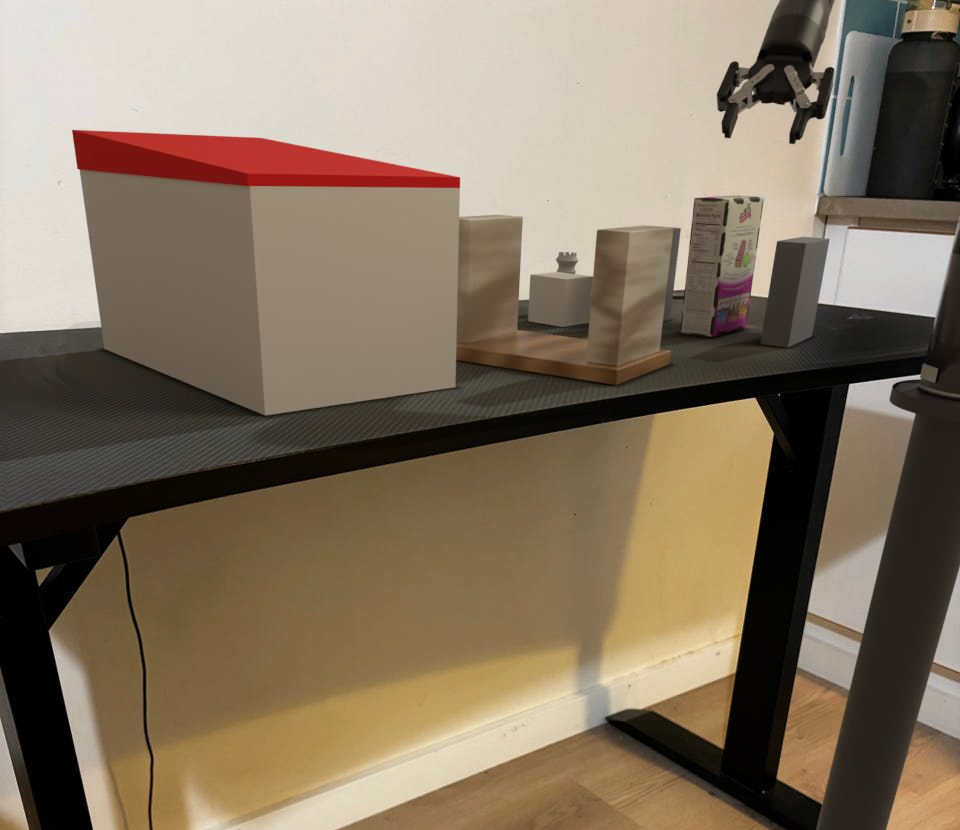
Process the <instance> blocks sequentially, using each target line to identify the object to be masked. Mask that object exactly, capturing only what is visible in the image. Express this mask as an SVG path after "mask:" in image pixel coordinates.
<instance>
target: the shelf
mask: <svg viewBox="0 0 960 830" xmlns="http://www.w3.org/2000/svg"><path fill="white" fill-rule="evenodd" d="M523 221H524V217H523V216H518V215H505V214H486V215H469V216H467V215H466V216H459V249H458V294H457V338H456V361H460V362H467V363H471V364H472V363H473V364H479V365H485V366H492V367H498V368H504V369H510V370H518V371H523V372H529V373H535V374H536V373H537V374H541V375H549V376H554V377H555V376H556V377H561V378H567V379H568V378H569V379H574V380H581V381H586V382H587V381H588V382H594V383H598V384H599V383H600V384H604V385H605V384H606V385H613V386H617V385H620V384H622V383H625V382H627V381H630V380H633V379H635V378H636V379H637V377H641V376H643V375H646V374H648V373H651V372H654V371H656V370H659V369H661V368H664V367H666V366H669V365H670V362H671V356H672V351H671V350H669V349H661V341H662V333H663V332H662V331H663V323H664V321H663V316H664V307H665V298H666V290H667V281H668V272H669V263H670V255H671V246H672V237H673V227H674V226H673V227H672V226H660V225H658V226H657V225H645V224H643V225H632V226H631V225H630V226H623V227H622V226H621V227H612V228H611V227H609V228H600V229H599V228H598V229H597V230H596V238H595V251H594V260H593V261H594V262H593V274H592V276H593V284H592V297H591V309H590V321H589V323H588V334H587V339H586V338H581V337H573V336H572V337H571V336H564V335H560V334H559V335H558V334H550V333H543V332H537V331H536V332H535V331H528V330H521V329H518V326H519V325H518V324H519V306H520V305H519V302H520V285H521V284H520V283H521V282H520V281H521V264H522V243H523ZM659 226H660V227H659Z"/></svg>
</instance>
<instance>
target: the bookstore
mask: <svg viewBox="0 0 960 830" xmlns="http://www.w3.org/2000/svg"><path fill="white" fill-rule="evenodd" d="M71 133H72V139H73V140H72V141H73V147H74V155H75V161H76V168H77V170H79V176H80V183H81V190H82V195H83V196H82V197H83V198H82V199H83V204H84V211H85V219H86V220H85V221H86V227H87V233H88V241H89V248H90V249H89V250H90V255H91V262H92V263H91V264H92V270H93V277H94V283H95V292H96V299H97V305H98V313H99V320H100V326H101V328H100V329H101V334H102V341H103V342H102V343H103V348H104V350H106V351H109V352H111V353H113V354H116V355H118V356H121V357H123V358H126V359H128V360H130V361H133V362H135V363H138V364H140V365H142V366H145V367H147V368H150V369H152V370H155V371H157V372H159V373H162V374H164V375H166V376H169V377H171V378H174V379H175V380H178V381H181V382H183V383H185V384H188V385H191V386H193V387H195V388H198V389H200V390H203V391H205V392H207V393H210V394H212V395H215V396H217V397H219V398H222V399H225V400H227V401H230V402H232V403H234V404H236V405H239V406H241V407H243V408H246V409H248V410H251V411H253V412H255V413H258V414H260V415H262V416H272V415H279V414H284V413H293V412H298V411H304V410H310V409H311V410H312V409H317V408H324V407H330V406H338V405H345V404H352V403H358V402H366V401H372V400H378V399H386V398H393V397H398V396H405V395H411V394H418V393H419V394H420V393H427V392H432V391H439V390H445V389H453V388H456V379H457V378H456V377H457V375H456V374H457V370H456V369H457V360H456V338H457V294H458V249H459V217H460V199H461V177H460V176H456V175H451V174H446V173H441V172H435V171H430V170H426V169H421V168H415V167H411V166H405V165H399V164H395V163H391V162H384V161H381V160H375V159H370V158H364V157H361V156H353V155H350V154H345V153H340V152H334V151H330V150H324V149H319V148H314V147H309V146H305V145H299V144H293V143H289V142H286V141H285V142H284V141H280V140H274V139H269V138H264V137H251V136H225V135H202V134H180V133H158V132H157V133H154V132H132V131H111V130H89V129H88V130H85V129H71Z"/></svg>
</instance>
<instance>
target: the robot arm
mask: <svg viewBox="0 0 960 830" xmlns="http://www.w3.org/2000/svg"><path fill="white" fill-rule="evenodd" d="M835 1H836V0H779V1H778V3H777V5H776V7H775V9H774V11H773V12H772V15H771V17H770V21H769V23H768V25H767V29H766V32H765V34H764V37H763V40H762V43H761V46H760V48H759V51H758V54H757V57H756V60H755V62H754V63H753V64H752V65H751V66H750V67H741V66H740V63H739V62H738V61H736V60H735V61H731V62H730V63H729V66H728V68H727V70H726V72H725V74H724V77H723V78H722V81H721V83H720V85H719V88H718V90H717V92H716V104H717V106H716V107H717V111H718V112H721V113H722V112H724V114H723V117H722V119H721V122H720V123H721V133H722V134H723V135H724V139H731V138H732V136H733V133H734V130H735V127H736V124H737V121H738V118H739V114H741V113H742V112H743V111H745V110H750V109H752V108H753V107H755V106H756V105H757V104H759V103H761V104H766V105H767V104H775V105H778V106H779V105H780V106H785V105H786V104H787V103H789V105H790V108H791V109H792V111H793V112H794V113H795V115H794V118H793V121H792V124H791V127H790V130H789V133H788V135H789V136H788V139H789V140H788V144H789V145H796V142H797V141H800V140H801V139H802V138H803V137H804V133H805V131H806V128H807V125H808V122H809V121H810V120H812V119H817V120H823V119H825V117H826V114H827V111H828V108H829V103H830V99H831V95H832V92H833V87H834V80H835V68H834V67H832V66H827V67H826V68H825V69H824V70H823V71H822V72H821V71H820V72H819V71H816V72H815V71H814V67H815V65H816V62H817V60H818V56H819V55H820V54H819V53H820V50H821V49H822V45H823V44H824V41H825V38H826V33H827V30H828V26H829V21H830V16H831V12H832V9H833V7H834V4H835ZM744 81H745V82H744ZM742 83H743V84H742ZM741 84H742V85H741ZM812 84H813V85H815V90H816V91H818V95H817V97H816V100H815V101H810V99H809V96H808V95H807V93H806V90H808V89H809V88H810V87H811V86H812ZM740 86H741V87H740ZM739 87H740V89H738V90H737V91H736V92H735V90H736V88H739ZM947 263H948V264H947V267H946V271H945V275H944V279H943V284H942V288H941V292H940V297H939V301H938V305H937V309H936V313H935V318H934V321H933V325H932V330H931V335H930V338H929V343H928V347H927V351H926V356H925V359H924V363H922V366H921V370H920V375H919V378H920V379H921V381H919V385H918V390H920V391H921V392H923V393H926V394H928V395H931V396H935V397H939V398H944V399H949V400H955V401H960V215H959V217H958V221H957V224H956V229H955V234H954V237H953V241H952V246H951V250H950V254H949V259H948V262H947Z"/></svg>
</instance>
